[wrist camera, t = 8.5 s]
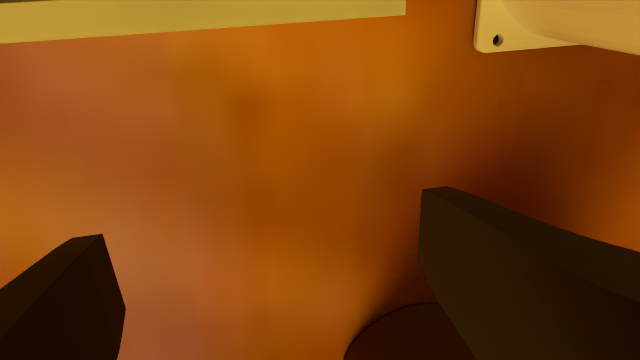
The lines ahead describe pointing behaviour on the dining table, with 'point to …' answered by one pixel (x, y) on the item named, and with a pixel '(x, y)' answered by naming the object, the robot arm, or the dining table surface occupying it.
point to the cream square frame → (169, 15)
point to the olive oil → (411, 337)
